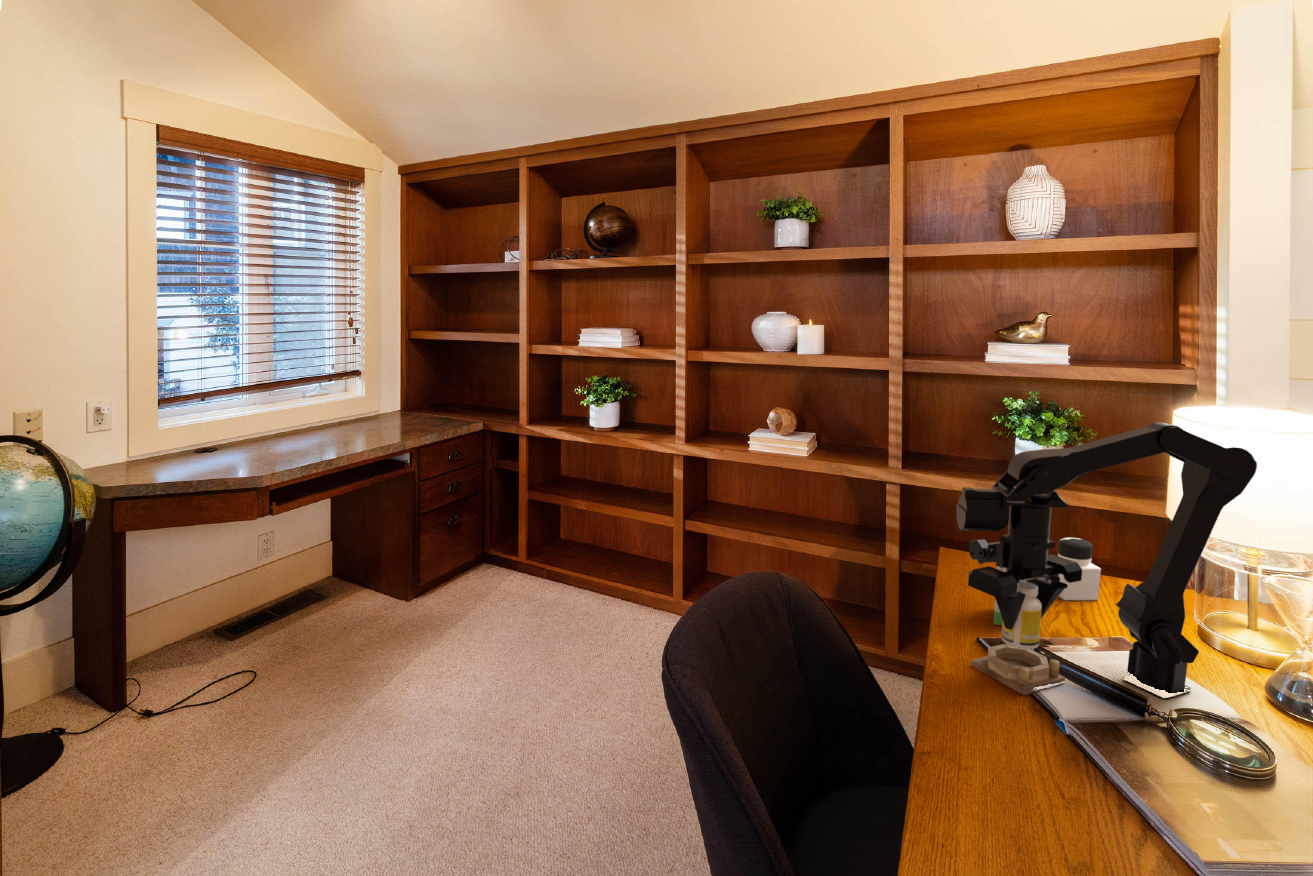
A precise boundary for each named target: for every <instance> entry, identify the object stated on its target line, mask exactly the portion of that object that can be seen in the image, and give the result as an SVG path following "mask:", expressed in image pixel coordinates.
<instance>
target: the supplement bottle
mask: <svg viewBox="0 0 1313 876" xmlns="http://www.w3.org/2000/svg"><path fill="white" fill-rule="evenodd" d="M1018 592H1021V593H1023V594H1026V595H1025V598H1024V601H1023V604H1022V606H1021V609H1020V612H1019V614H1018V617H1017V620H1016V622H1015V625H1014V627H1013V629H1011V630H1009V629H1007V628H1005V626H1004V623H1003V621H1002V625H1001V640H1002V641H1003V642H1004V643H1005V644H1006V645H1010V646H1013V647H1016V648H1020V649H1031V650H1034V649H1037V648H1038V647H1039V645H1040V638H1041V627H1042V626H1041V623H1042V618H1041V611H1042V604H1041V602H1040V600H1038V599H1037V598H1036V597H1037V595H1038V586H1037V585H1035V584H1033V583H1029V582H1027V581H1026V582H1025V581H1023V582H1020V584H1019V591H1018Z"/></svg>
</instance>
